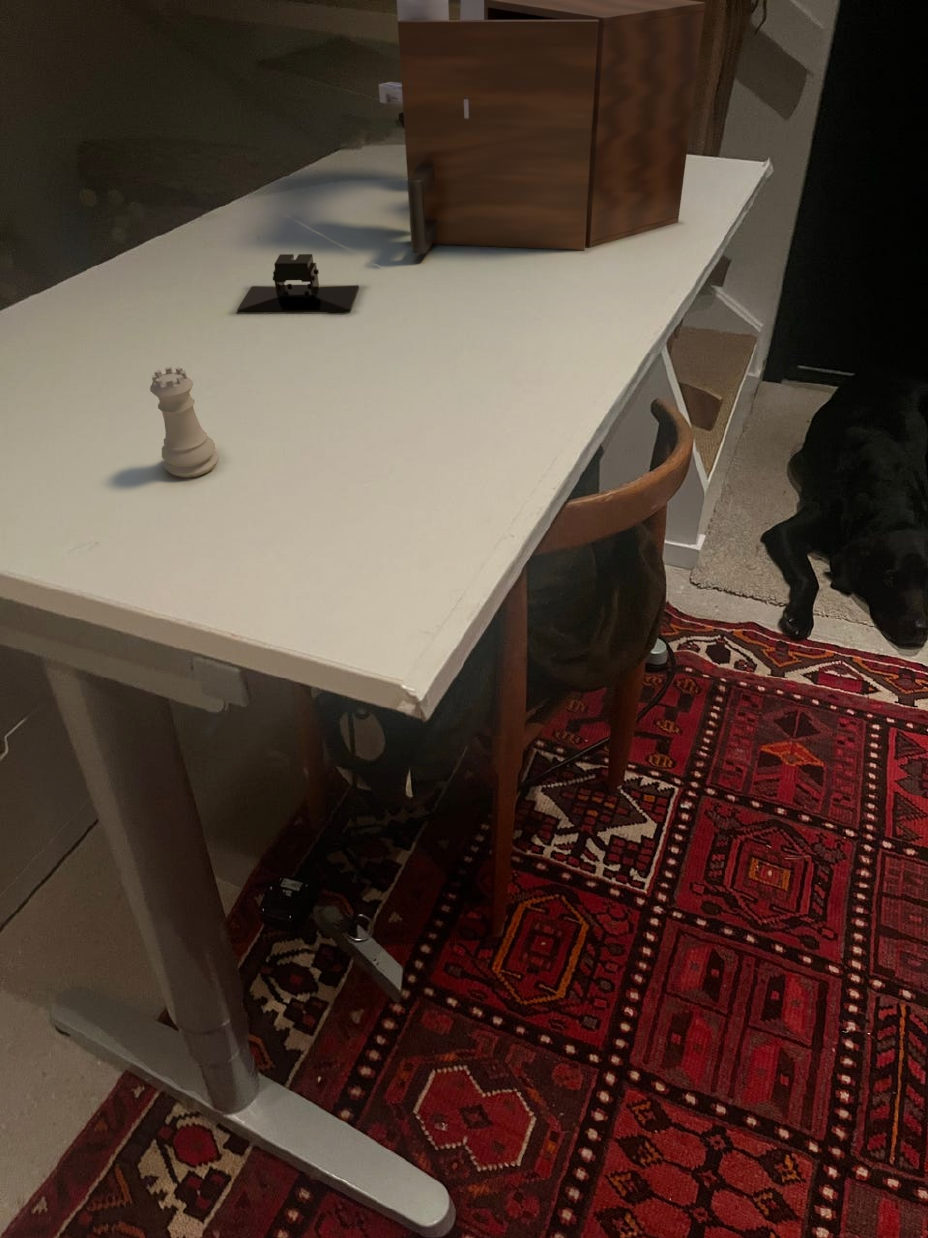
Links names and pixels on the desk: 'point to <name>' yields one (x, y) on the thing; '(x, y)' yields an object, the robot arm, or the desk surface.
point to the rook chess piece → (182, 426)
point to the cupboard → (632, 105)
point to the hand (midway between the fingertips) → (431, 175)
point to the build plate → (298, 291)
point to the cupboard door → (498, 131)
